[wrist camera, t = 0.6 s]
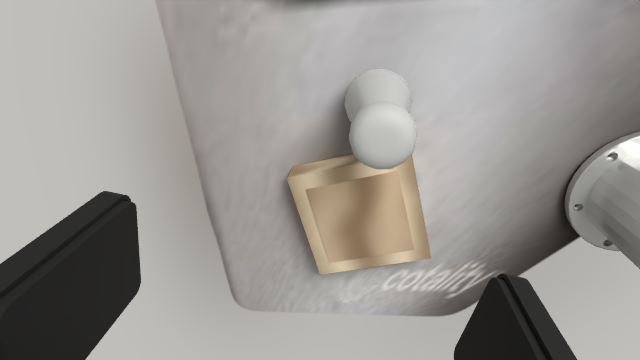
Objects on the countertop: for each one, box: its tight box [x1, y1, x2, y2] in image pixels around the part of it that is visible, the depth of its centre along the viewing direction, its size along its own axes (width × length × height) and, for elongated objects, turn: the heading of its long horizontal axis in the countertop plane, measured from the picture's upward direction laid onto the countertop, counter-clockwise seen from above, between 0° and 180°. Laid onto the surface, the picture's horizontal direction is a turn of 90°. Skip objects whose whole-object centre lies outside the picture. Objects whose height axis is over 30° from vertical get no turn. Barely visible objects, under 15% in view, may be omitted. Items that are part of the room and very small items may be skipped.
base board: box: [287, 153, 431, 275], centre depth 37 cm, size 12×12×3 cm
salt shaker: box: [344, 69, 417, 170], centre depth 28 cm, size 6×6×13 cm
